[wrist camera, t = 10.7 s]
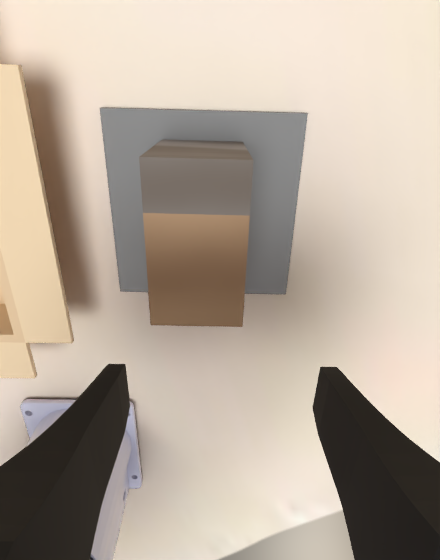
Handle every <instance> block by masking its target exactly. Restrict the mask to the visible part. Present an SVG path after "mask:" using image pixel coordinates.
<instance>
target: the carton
mask: <svg viewBox="0 0 440 560" xmlns="http://www.w3.org/2000/svg"><path fill="white" fill-rule="evenodd" d="M73 341H74V338H73V332H72V327H71V322H70V317H69V311H68V306H67V301H66V296H65V291H64V285H63V280H62V275H61V270H60V265H59V259H58V254H57V249H56V244H55V238H54V233H53V228H52V223H51V218H50V212H49V207H48V202H47V197H46V192H45V186H44V181H43V176H42V171H41V166H40V160H39V155H38V150H37V145H36V139H35V134H34V129H33V124H32V119H31V113H30V108H29V103H28V98H27V93H26V87H25V82H24V77H23V72H22V66H21V65H10V64H0V378H35V377H36V376H37V372H36V368H35V364H34V360H33V357H32V353H31V349H30V345H29V343H73Z"/></svg>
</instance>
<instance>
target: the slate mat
mask: <svg viewBox="0 0 440 560" xmlns="http://www.w3.org/2000/svg"><path fill="white" fill-rule="evenodd" d="M100 115H101V124H102V133H103V141H104V150H105V159H106V168H107V177H108V186H109V195H110V204H111V212H112V221H113V230H114V239H115V248H116V257H117V266H118V274H119V283H120V291H125V292H148V279H147V265H146V250H145V236H144V221H143V207H142V192H141V178H140V163H139V157H140V156H141V155H142V154H144V153H145V152H146V151H147V150H149V149H150V148H151V147H153V146H154V145H155V144H157V143H158V142H159V141H161V140H162V139H169V140H203V141H237V142H243V143H244V145H245V147H246V148H247V150H248V152H249V153H250V155H251V157H252V158H253V160H254V161H253V176H252V191H251V206H250V220H249V235H248V250H247V265H246V280H245V294H286V288H287V279H288V271H289V263H290V255H291V246H292V238H293V230H294V222H295V214H296V205H297V197H298V189H299V181H300V172H301V164H302V156H303V148H304V139H305V131H306V123H307V115H308V113H285V112H248V111H211V110H174V109H136V108H100Z"/></svg>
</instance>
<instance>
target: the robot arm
mask: <svg viewBox="0 0 440 560" xmlns="http://www.w3.org/2000/svg"><path fill="white" fill-rule="evenodd" d="M20 408H21V411H22V414H23V418H24V421H25V424H26V428H27V431H28V434H29V437H30V440H29V442H28V444H27V445H26V447H25V448H24V449H23V450H22V451H20V452H19V453H18V454H16V455H15V456H14V457H12V458H11V459H10V460H8V461H7V462H6V463H4V464H3V465H2V466H0V560H113V557H114V553H115V548H116V544H117V539H118V535H119V531H120V526H121V522H122V517H123V513H124V508H125V504H126V499H127V495H128V490H129V488H135V489H136V488H140V487H141V485H142V473H141V464H140V456H139V447H138V438H137V429H136V420H135V411H134V405H133V403H132V402H130V400H129V392H128V383H127V375H126V366H125V364H108V365H107V366H106V367H105V368H104V369H103V370H102V372H101V373H100V374H99V375H98V376H97V377H96V379H95V380H94V381H93V382H92V383H91V384H90V385H89V387H88V388H87V389H86V390H85V391H84V392H83V393H82V394H81V395H80V396H79V398H78V399H77V400H49V399H26V400H24V401H23V402H22V404H21V405H20ZM313 412H314V417H315V422H316V426H317V431H318V435H319V438H320V441H321V444H322V447H323V450H324V453H325V456H326V459H327V462H328V465H329V468H330V471H331V474H332V477H333V480H334V483H335V485H336V488H337V491H338V494H339V498H340V501H341V504H342V508H343V512H344V516H345V520H346V524H347V528H348V532H349V536H350V541H351V546H352V550H353V555H354V559H355V560H440V462H438V461H437V460H436V459H434V458H433V457H432V456H430V455H429V454H428V453H426V452H425V451H424V450H423V449H421V448H420V447H419V446H418V445H416V444H415V443H414V442H413V441H411V440H410V439H409V438H408V437H406V436H405V435H404V434H403V433H402V432H401V431H400V430H398V429H397V428H396V427H395V426H394V425H393V424H392V423H391V422H390V421H389V420H387V419H386V418H385V417H384V416H383V415H382V414H381V413H380V412H379V411H378V410H377V409H376V408H375V407H374V406H373V405H372V404H371V403H370V402H369V401H368V400H367V399H366V398H365V397H364V396H363V395H362V394H361V393H360V391H359V390H358V389H357V388H356V387H355V386H354V385H353V384H352V383H351V382H350V381H349V380H348V379H347V377H346V376H345V375H344V374H343V373H342V372H341V371H340V370H339V369H338V368H337V367H320V372H319V377H318V383H317V388H316V393H315V398H314V404H313Z"/></svg>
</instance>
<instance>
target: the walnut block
mask: <svg viewBox="0 0 440 560" xmlns="http://www.w3.org/2000/svg"><path fill="white" fill-rule="evenodd" d="M253 161H254V160H253V158H252V157H251V155H250V153H249V152H248V150H247V148H246V147H245V145H244V143H243V142H237V141H203V140H169V139H162V140H161V141H159V142H158V143H157V144H155V145H154V146H153V147H151V148H150V149H149V150H147V151H146V152H145V153H144V154H142V155H141V156H140V157H139V163H140V178H141V192H142V207H143V221H144V236H145V250H146V265H147V279H148V294H149V308H150V323H151V325H176V326H229V327H242V324H243V310H244V295H245V280H246V265H247V250H248V235H249V220H250V206H251V191H252V176H253Z"/></svg>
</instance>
